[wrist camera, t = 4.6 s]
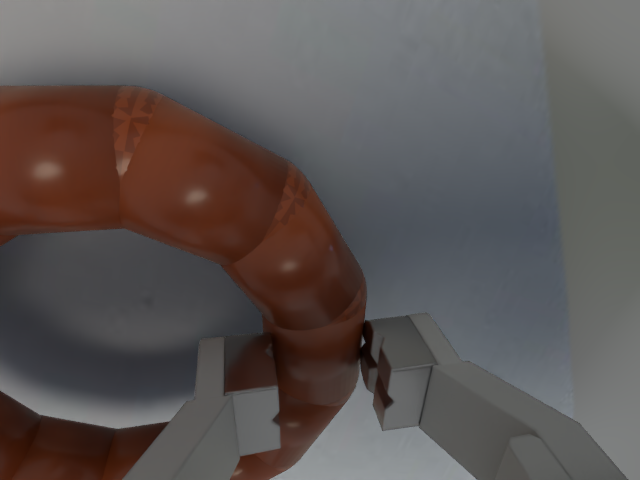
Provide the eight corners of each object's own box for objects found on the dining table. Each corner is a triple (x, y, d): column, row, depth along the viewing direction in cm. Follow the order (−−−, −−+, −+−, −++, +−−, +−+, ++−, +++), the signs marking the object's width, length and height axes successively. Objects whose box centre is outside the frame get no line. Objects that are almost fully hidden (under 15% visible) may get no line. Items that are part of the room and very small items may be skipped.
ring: (364, 77, 8) (409, 97, 6) (338, 429, 14) (357, 502, 12) (-328, 75, 6) (-604, 103, 4) (-37, 489, 12) (-94, 590, 10)
